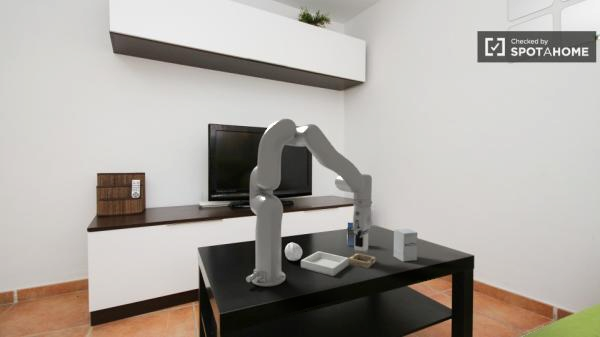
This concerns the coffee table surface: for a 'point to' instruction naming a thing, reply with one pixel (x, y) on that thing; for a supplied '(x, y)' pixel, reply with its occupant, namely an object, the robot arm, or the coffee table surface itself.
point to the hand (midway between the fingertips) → (361, 244)
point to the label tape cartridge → (350, 234)
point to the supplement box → (405, 244)
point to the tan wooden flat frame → (368, 258)
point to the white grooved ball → (293, 251)
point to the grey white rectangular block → (365, 243)
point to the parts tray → (325, 263)
